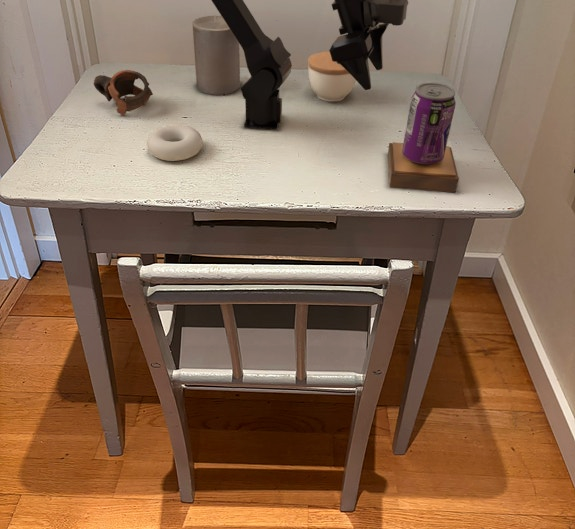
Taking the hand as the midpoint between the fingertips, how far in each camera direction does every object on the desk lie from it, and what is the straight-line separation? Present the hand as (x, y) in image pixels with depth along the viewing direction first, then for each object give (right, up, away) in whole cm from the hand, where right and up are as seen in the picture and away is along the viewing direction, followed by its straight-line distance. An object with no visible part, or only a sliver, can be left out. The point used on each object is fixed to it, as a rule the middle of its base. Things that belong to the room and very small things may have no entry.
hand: (374, 79), depth 102 cm
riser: (+8, -17, -2) cm, 19 cm away
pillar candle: (-31, +6, +25) cm, 40 cm away
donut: (-36, -13, +2) cm, 38 cm away
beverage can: (+8, -15, -4) cm, 17 cm away
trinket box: (-6, +3, +22) cm, 23 cm away
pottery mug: (-49, -1, +16) cm, 52 cm away
